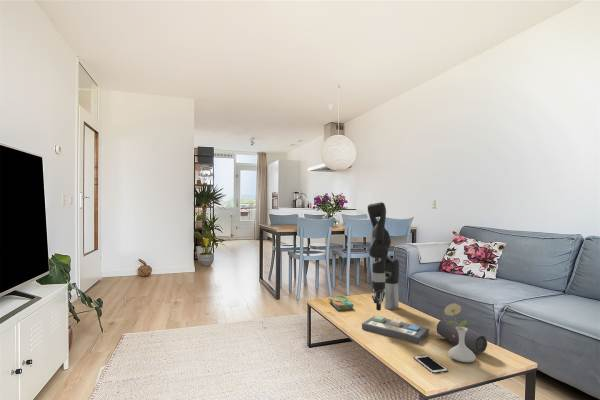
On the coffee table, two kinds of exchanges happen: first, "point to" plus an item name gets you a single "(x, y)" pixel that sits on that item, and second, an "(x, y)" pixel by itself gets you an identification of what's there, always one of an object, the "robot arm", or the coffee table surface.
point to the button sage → (379, 319)
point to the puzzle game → (341, 302)
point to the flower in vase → (460, 350)
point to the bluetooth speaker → (472, 338)
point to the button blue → (413, 328)
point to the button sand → (396, 323)
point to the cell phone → (430, 364)
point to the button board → (396, 330)
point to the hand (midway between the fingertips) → (378, 310)
